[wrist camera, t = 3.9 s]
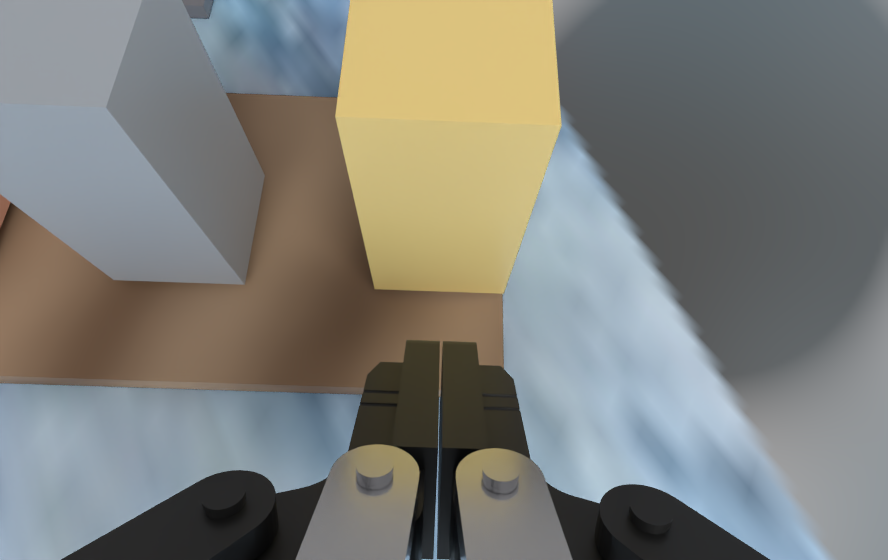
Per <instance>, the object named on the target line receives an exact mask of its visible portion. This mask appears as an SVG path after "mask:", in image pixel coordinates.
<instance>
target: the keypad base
mask: <svg viewBox="0 0 888 560" xmlns="http://www.w3.org/2000/svg"><path fill="white" fill-rule="evenodd" d="M226 95H227V97H228V99H229V101H230V103H231V105H232V107H233V109H234V111H235V113H236V116H237V118H238V120H239V122H240V124H241V126H242V128H243V130H244V132H245V135H246V137H247V139H248V141H249V143H250V145H251V147H252V149H253V151H254V154H255V156H256V158H257V160H258V162H259V164H260V166H261V168H262V170H263V173H264V175H265V177H264V183H263V188H262V193H261V199H260V204H259V210H258V215H257V221H256V226H255V232H254V237H253V242H252V248H251V253H250V259H249V264H248V270H247V275H246V281H245V285H239V284H210V283H182V282H153V281H124V280H113V279H112V278H110V277H109V276H108V275H106V274H105V273H104V272H102V271H101V270H100V269H98V268H97V267H96V266H94V265H93V264H92V263H91V262H89V261H88V260H87V259H85V258H84V257H83V256H81V255H80V254H79V253H77V252H76V251H75V250H73V249H72V248H71V247H69V246H68V245H67V244H65V243H64V242H63V241H61V240H60V239H59V238H57V237H56V236H55V235H54V234H52V233H51V232H50V231H48V230H47V229H46V228H44V227H43V226H42V225H40V224H39V223H38V222H36V221H35V220H34V219H32V218H31V217H30V216H28V215H27V214H26V213H24V212H23V211H22V210H20V209H19V208H18V207H17V206H15V205H14V204H13V203H11V202H10V205H9V208H8V210H7V213H6V215H5V218H4V220H3V223H2V225H1V228H0V383H15V384H47V385H78V386H110V387H141V388H173V389H204V390H236V391H267V392H299V393H330V394H363V391H364V386H365V382H366V378H367V374H368V373H369V372H370V371H371V370H372V369H374V368H375V367H376V366H377V365H378V364H379V363H380V362H402V363H403V360H404V353H405V346H406V340H428V341H440V362H439V397H440V394H441V370H442V347H443V341H459V342H476V343H477V351H478V360H479V365H492V366H501V367H502V368H503V369H504V359H503V301H502V294H497V293H469V292H440V291H411V290H382V289H375V288H374V284H373V280H372V275H371V271H370V267H369V262H368V258H367V253H366V249H365V245H364V240H363V236H362V232H361V227H360V223H359V219H358V214H357V210H356V205H355V201H354V197H353V192H352V188H351V184H350V179H349V175H348V171H347V166H346V162H345V157H344V153H343V149H342V144H341V140H340V136H339V131H338V127H337V122H336V118H335V114H336V107H337V99H338V98H336V97H311V96H286V95H262V94H237V93H226Z"/></svg>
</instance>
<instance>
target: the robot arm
mask: <svg viewBox="0 0 888 560" xmlns="http://www.w3.org/2000/svg"><path fill="white" fill-rule="evenodd" d="M439 362H440V341H428V340H406V346H405V353H404V360H403V363H402V362H380V363H379V364H378V365H377V366H376V367H375V368H374V369H372V370H371V371H370V372H369V373H368V374H367V378H366V382H365V386H364V391H363V394H362V398H361V402H360V406H359V410H358V414H357V418H356V422H355V426H354V430H353V434H352V438H351V442H350V446H349V450H348V452H347V453H345V454H343V455H342V456H341V457H340V458H339V459H337V461H336V462H335V463H334V464H333V466H332V468H331V470H330V473H329V475H328V478H326V479H325V480H323V481H321V482H319V483H316V484H314V485H311V486H308V487H304V488H300V489H295V490H290V491H286V492H281V493H276V492H275V489H274V486H273V485H272V483H271V482H270V481H269V480H268V479H267V478H266V477H264V476H263V475H261V474H258V473H255V472H251V471H243V470H236V471H227V472H222V473H218V474H215V475H212V476H209V477H207V478H205V479H203V480H201V481H199V482H197V483H195V484H193V485H192V486H190V487H188V488H186V489H185V490H183V491H181V492H179V493H178V494H176V495H174V496H172V497H171V498H169V499H167V500H165V501H163V502H162V503H160V504H158V505H156V506H155V507H153V508H151V509H149V510H148V511H146V512H144V513H142V514H141V515H139V516H137V517H135V518H134V519H132V520H130V521H128V522H126V523H125V524H123V525H121V526H119V527H118V528H116V529H114V530H112V531H111V532H109V533H107V534H105V535H104V536H102V537H100V538H98V539H97V540H95V541H93V542H91V543H90V544H88V545H86V546H84V547H82V548H81V549H79V550H77V551H75V552H74V553H72V554H70V555H68V556H67V557H65V558H63V559H61V560H422V559H433V550H434V527H435V503H436V479H437V456H438V414H439ZM437 559H449V560H770V559H768V558H767V557H765V556H764V555H762V554H760V553H759V552H757V551H756V550H754V549H753V548H751V547H750V546H748V545H747V544H745V543H744V542H742V541H741V540H739V539H737V538H736V537H734V536H733V535H731V534H730V533H728V532H727V531H725V530H724V529H722V528H721V527H719V526H718V525H716V524H714V523H713V522H711V521H710V520H708V519H707V518H705V517H704V516H702V515H701V514H699V513H698V512H696V511H695V510H693V509H691V508H690V507H688V506H687V505H685V504H684V503H682V502H681V501H679V500H678V499H676V498H675V497H673V496H671V495H669V494H668V493H665V492H663V491H661V490H658V489H655V488H652V487H648V486H644V485H636V484H629V485H621V486H618V487H614V488H613V489H611V490H609V491H608V492H607V493H605V495H604V496H603V497H602V499H601V502H600V503H596V502H592V501H589V500H585V499H582V498H578V497H575V496H572V495H568V494H566V493H564V492H561V491H559V490H557V489H556V488H554V487H552V486H551V485H549V484H548V483H547V482H546V481H545V478H544V475H543V473H542V471H541V470H540V468H539V467H538V466H537V465H536V464H535V463H534V462H533V461H532V460H531V459H530V455H529V450H528V445H527V441H526V436H525V431H524V427H523V422H522V417H521V413H520V411H519V403H518V399H517V394H516V389H515V385H514V380H513V379H512V377H511V376H510V375H509V374H508V373H507V372H506V371H505V370H504V369H503V368H502V367H501V366H492V365H479V360H478V351H477V343H476V342H459V341H443V347H442V370H441V394H440V420H439V472H438V533H437Z"/></svg>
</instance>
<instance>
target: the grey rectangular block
mask: <svg viewBox="0 0 888 560" xmlns="http://www.w3.org/2000/svg"><path fill="white" fill-rule="evenodd" d="M264 177H265V175H264V173H263V170H262V168H261V166H260V164H259V162H258V160H257V158H256V156H255V154H254V151H253V149H252V147H251V145H250V143H249V141H248V139H247V137H246V135H245V132H244V130H243V128H242V126H241V124H240V122H239V120H238V118H237V116H236V113H235V111H234V109H233V107H232V105H231V103H230V101H229V99H228V97H227V95H226V92H225V90H224V88H223V86H222V84H221V82H220V80H219V78H218V76H217V73H216V71H215V69H214V67H213V65H212V63H211V61H210V59H209V57H208V54H207V52H206V50H205V48H204V46H203V44H202V42H201V40H200V38H199V35H198V33H197V31H196V29H195V27H194V25H193V23H192V21H191V19H190V16H189V14H188V12H187V10H186V8H185V6H184V4H183V2H182V0H0V194H1V195H2V196H3V197H5V198H6V199H7V200H9V201H10V202H11V203H13V204H14V205H15V206H17V207H18V208H19V209H20V210H22V211H23V212H24V213H26V214H27V215H28V216H30V217H31V218H32V219H34V220H35V221H36V222H38V223H39V224H40V225H42V226H43V227H44V228H46V229H47V230H48V231H50V232H51V233H52V234H54V235H55V236H56V237H57V238H59V239H60V240H61V241H63V242H64V243H65V244H67V245H68V246H69V247H71V248H72V249H73V250H75V251H76V252H77V253H79V254H80V255H81V256H83V257H84V258H85V259H87V260H88V261H89V262H91V263H92V264H93V265H94V266H96V267H97V268H98V269H100V270H101V271H102V272H104V273H105V274H106V275H108V276H109V277H110V278H112V279H113V280H124V281H153V282H182V283H210V284H239V285H245V281H246V275H247V270H248V264H249V259H250V253H251V248H252V242H253V237H254V232H255V226H256V221H257V215H258V210H259V204H260V199H261V193H262V188H263V183H264Z"/></svg>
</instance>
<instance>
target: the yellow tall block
mask: <svg viewBox="0 0 888 560" xmlns="http://www.w3.org/2000/svg"><path fill="white" fill-rule="evenodd" d="M335 118H336V122H337V127H338V131H339V136H340V140H341V144H342V149H343V153H344V157H345V162H346V166H347V171H348V175H349V179H350V184H351V188H352V192H353V197H354V201H355V205H356V210H357V214H358V219H359V223H360V227H361V232H362V236H363V240H364V245H365V249H366V253H367V258H368V262H369V267H370V271H371V275H372V280H373V284H374V288H375V289H382V290H411V291H440V292H469V293H497V294H504V291H505V288H506V285H507V283H508V280H509V277H510V274H511V271H512V268H513V265H514V262H515V259H516V256H517V253H518V251H519V248H520V245H521V242H522V239H523V236H524V233H525V230H526V227H527V224H528V221H529V219H530V216H531V213H532V210H533V207H534V204H535V201H536V198H537V195H538V192H539V189H540V187H541V184H542V181H543V178H544V175H545V172H546V169H547V166H548V163H549V160H550V158H551V155H552V152H553V149H554V146H555V143H556V140H557V137H558V134H559V131H560V128H561V113H560V99H559V86H558V71H557V57H556V44H555V30H554V17H553V2H552V0H350V7H349V14H348V22H347V30H346V37H345V45H344V53H343V60H342V68H341V76H340V83H339V91H338V99H337V107H336V114H335Z"/></svg>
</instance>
